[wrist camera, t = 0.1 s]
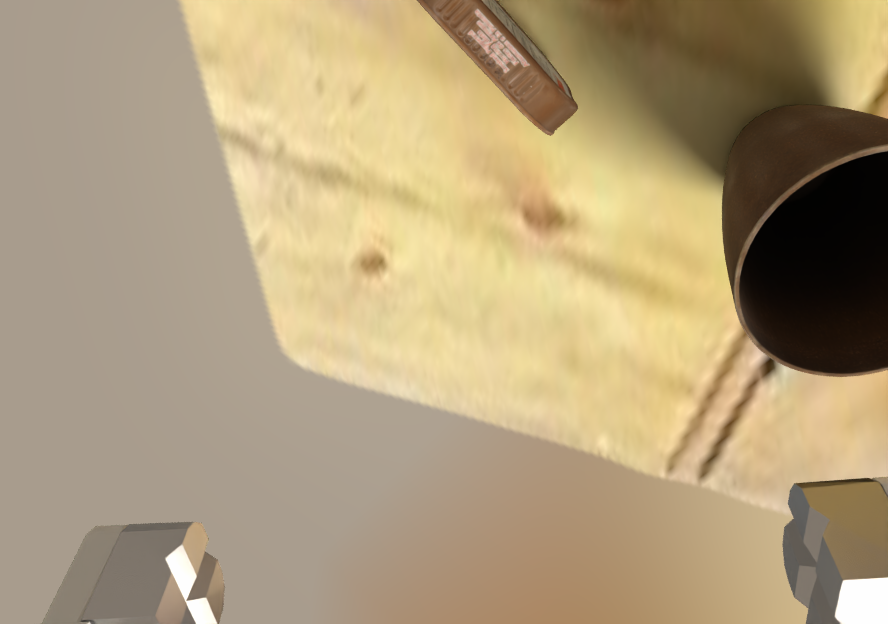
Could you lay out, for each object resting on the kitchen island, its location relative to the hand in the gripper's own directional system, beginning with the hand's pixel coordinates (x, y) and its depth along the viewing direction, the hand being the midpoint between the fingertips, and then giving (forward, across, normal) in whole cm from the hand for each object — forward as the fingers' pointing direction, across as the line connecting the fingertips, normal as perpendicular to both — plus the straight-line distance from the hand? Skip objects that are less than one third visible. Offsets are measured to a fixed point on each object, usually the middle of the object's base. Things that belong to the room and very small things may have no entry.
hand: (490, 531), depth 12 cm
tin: (+48, 0, +5) cm, 49 cm away
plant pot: (+48, -20, +17) cm, 55 cm away
